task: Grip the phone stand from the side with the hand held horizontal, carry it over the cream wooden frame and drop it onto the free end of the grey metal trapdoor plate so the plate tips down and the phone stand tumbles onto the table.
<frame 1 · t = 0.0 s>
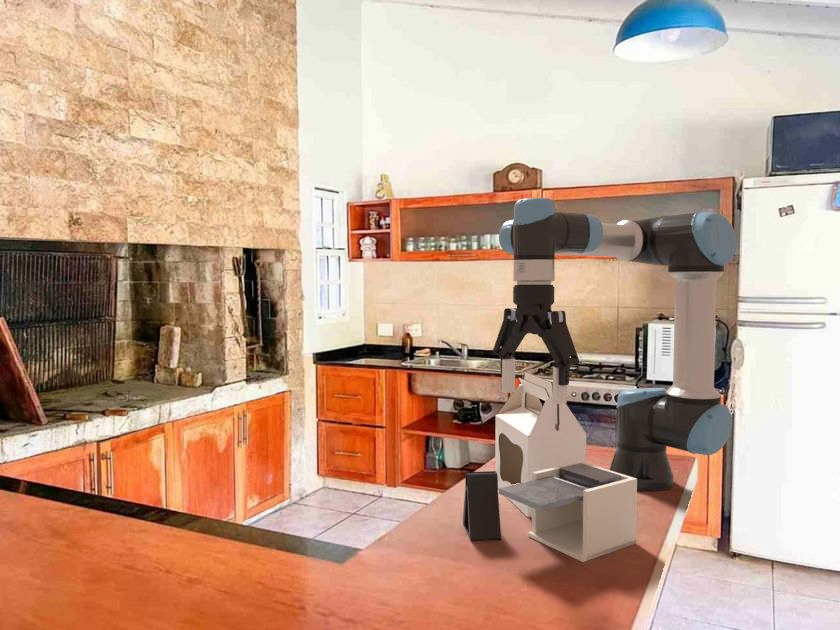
hand: (532, 397, 122), 28 cm above the countertop, tool pointing down, fingers open, 13 cm apart
phone stand: (481, 532, 130), on the countertop
gable box: (537, 500, 150), on the countertop
frame: (573, 542, 125), on the countertop
trapdoor: (561, 488, 122), point 11 cm above the countertop, hinge at 0.0°
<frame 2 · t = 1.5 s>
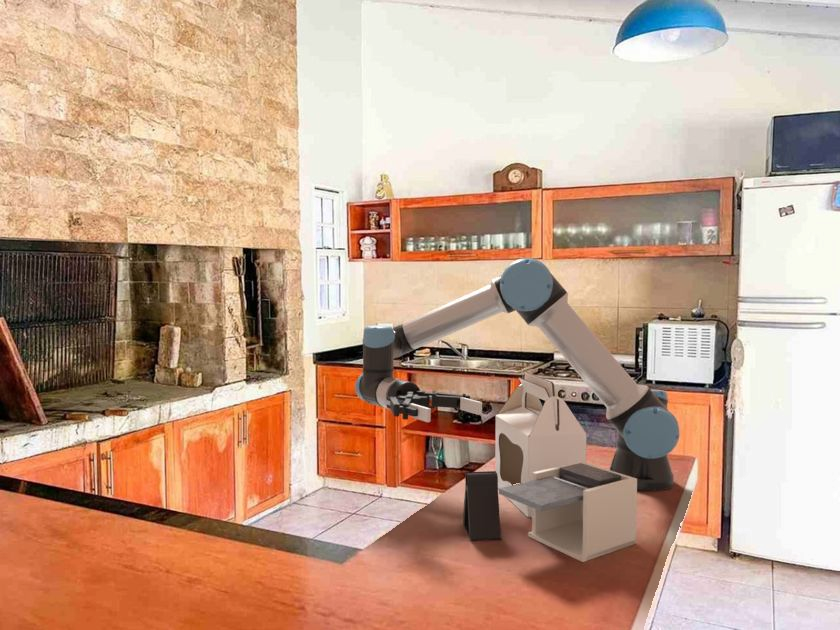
hand: (455, 412, 136), 23 cm above the countertop, tool horizontal, fingers open, 13 cm apart
nothing on the countertop moved.
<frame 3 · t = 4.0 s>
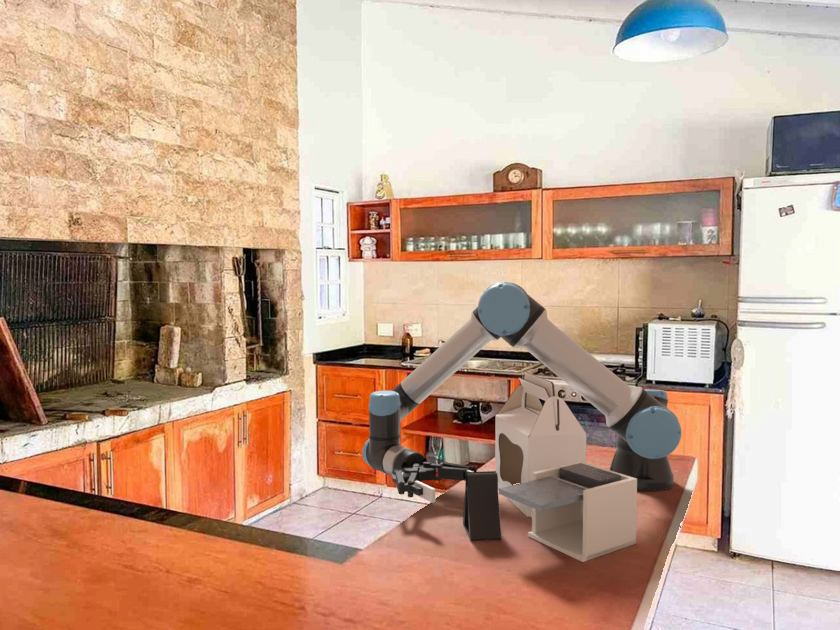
hand: (461, 489, 135), 7 cm above the countertop, tool horizontal, fingers open, 13 cm apart
nothing on the countertop moved.
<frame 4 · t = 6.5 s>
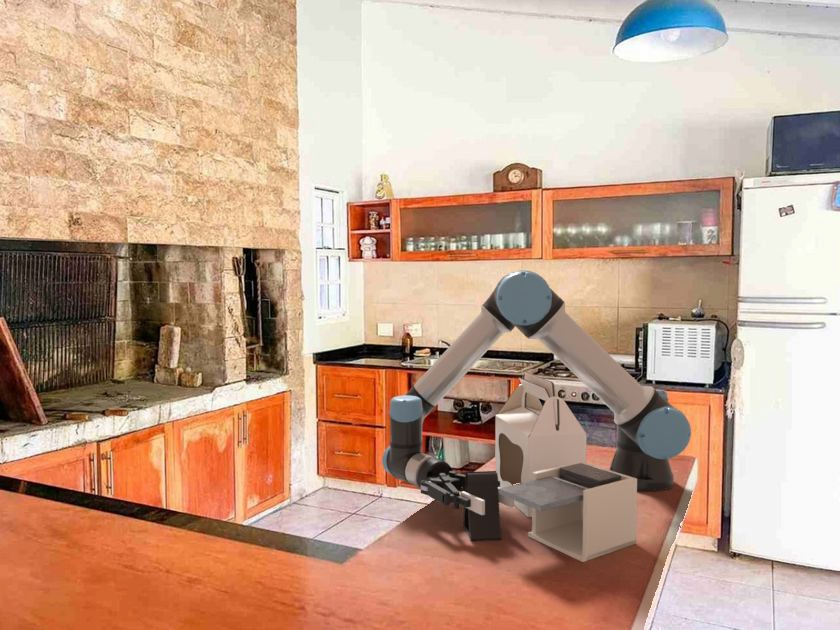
hand: (498, 503, 126), 7 cm above the countertop, tool horizontal, fingers closed on phone stand, 7 cm apart
phone stand: (481, 532, 130), on the countertop, touching gripper
everything else where it was.
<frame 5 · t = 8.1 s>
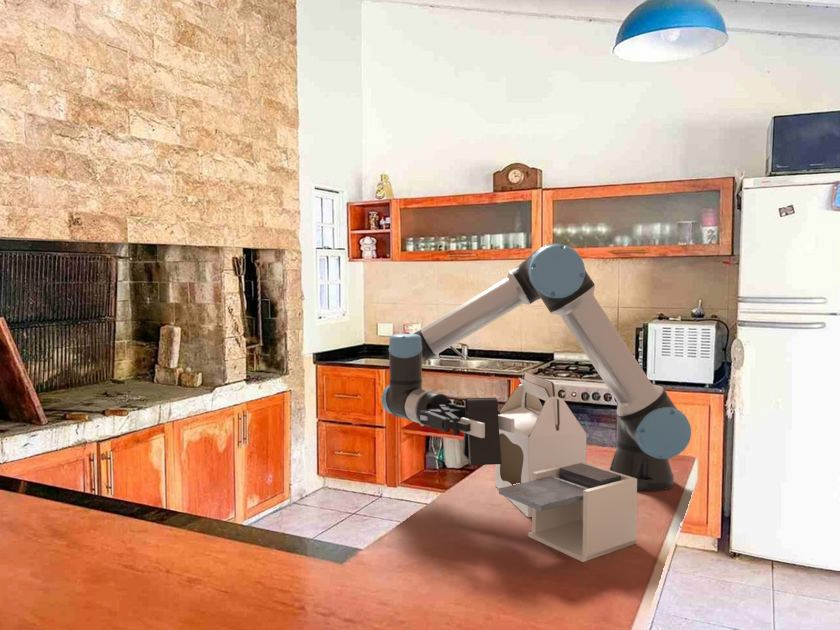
hand: (498, 428, 125), 22 cm above the countertop, tool horizontal, fingers closed on phone stand, 7 cm apart
phone stand: (481, 459, 130), point 14 cm above the countertop, touching gripper
everything else where it was.
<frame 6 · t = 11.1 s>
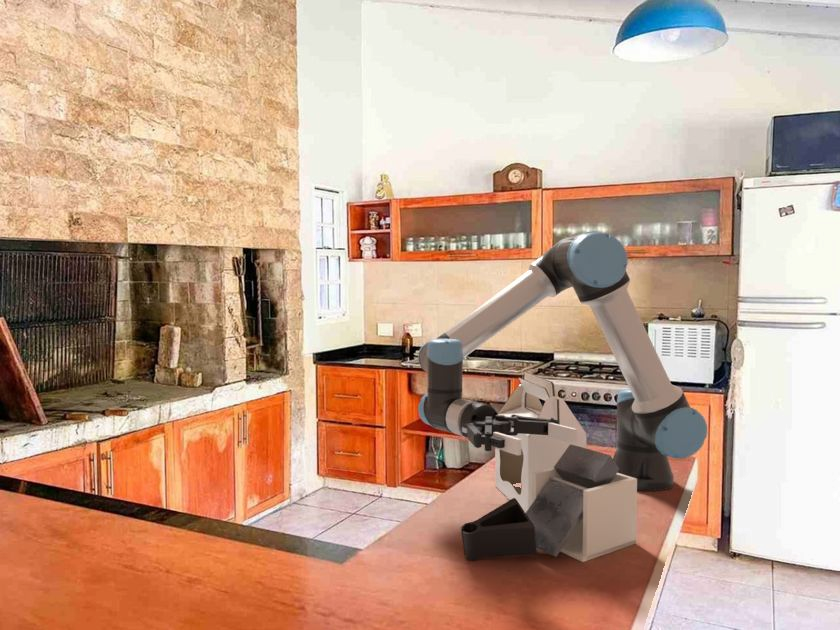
hand: (548, 441, 115), 21 cm above the countertop, tool horizontal, fingers open, 13 cm apart
phone stand: (527, 525, 119), point 6 cm above the countertop, touching trapdoor
trapdoor: (564, 499, 123), point 9 cm above the countertop, hinge at -40.7°, touching phone stand
everything else where it was.
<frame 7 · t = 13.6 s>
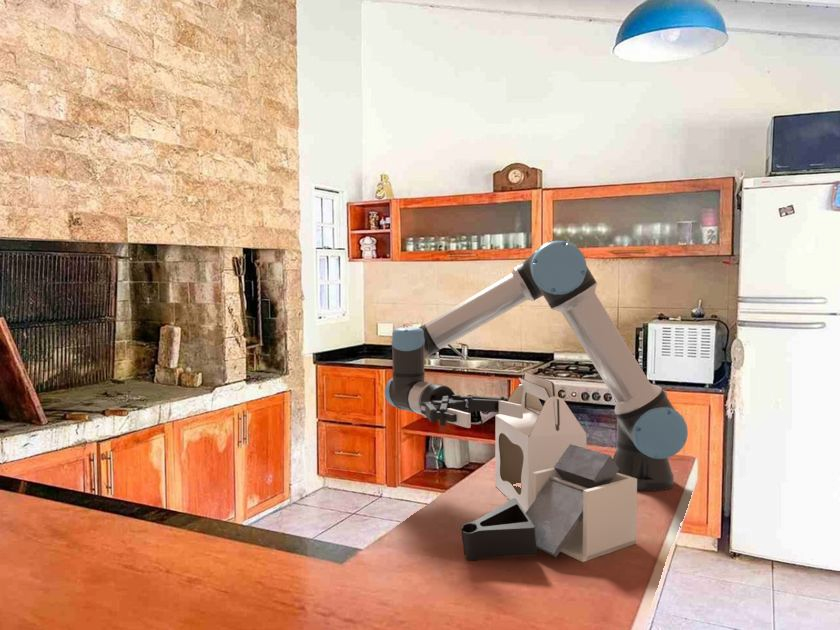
hand: (496, 416, 129), 23 cm above the countertop, tool horizontal, fingers open, 13 cm apart
nothing on the countertop moved.
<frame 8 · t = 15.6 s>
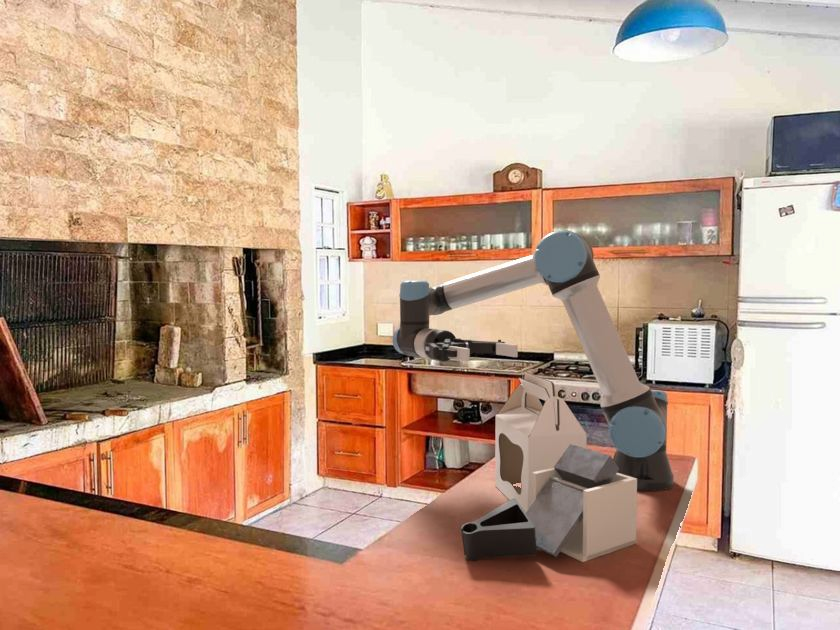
hand: (493, 353, 143), 34 cm above the countertop, tool horizontal, fingers open, 13 cm apart
nothing on the countertop moved.
at the end: phone stand point 5.5 cm above the countertop; phone stand inside the target area (20.5 cm from its centre), point 5.5 cm above the countertop; the gripper is holding nothing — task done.
